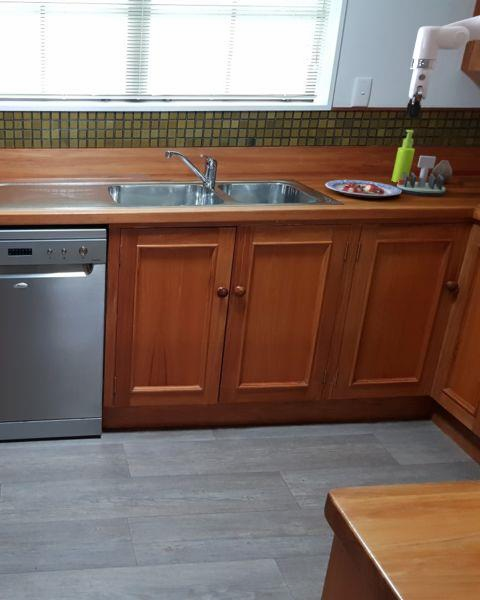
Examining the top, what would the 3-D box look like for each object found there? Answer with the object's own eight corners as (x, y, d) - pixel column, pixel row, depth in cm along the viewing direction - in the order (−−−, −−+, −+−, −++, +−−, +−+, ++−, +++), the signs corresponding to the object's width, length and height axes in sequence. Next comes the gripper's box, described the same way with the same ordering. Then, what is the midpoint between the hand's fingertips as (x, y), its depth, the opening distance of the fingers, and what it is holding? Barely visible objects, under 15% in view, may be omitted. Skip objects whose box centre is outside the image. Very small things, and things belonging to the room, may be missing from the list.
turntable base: (441, 189, 232) (442, 186, 232) (449, 198, 218) (449, 195, 217) (392, 185, 238) (393, 182, 237) (396, 194, 223) (397, 191, 223)
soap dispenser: (406, 180, 247) (417, 129, 239) (408, 183, 241) (420, 131, 233) (390, 179, 249) (400, 128, 241) (392, 182, 243) (403, 130, 235)
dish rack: (441, 185, 231) (449, 154, 227) (448, 194, 218) (456, 161, 213) (395, 182, 237) (401, 151, 232) (398, 190, 223) (405, 158, 218)
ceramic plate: (324, 183, 239) (325, 175, 238) (396, 188, 231) (397, 181, 230) (325, 197, 217) (326, 189, 216) (404, 204, 209) (406, 195, 208)
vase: (430, 183, 242) (436, 161, 238) (428, 180, 248) (434, 158, 244) (450, 185, 239) (456, 162, 236) (448, 181, 245) (453, 159, 242)
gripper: (438, 65, 203) (426, 118, 209) (431, 64, 217) (420, 114, 224) (413, 65, 205) (402, 117, 212) (408, 64, 220) (398, 113, 227)
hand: (411, 115), depth 218 cm, fingers open, 9 cm apart
